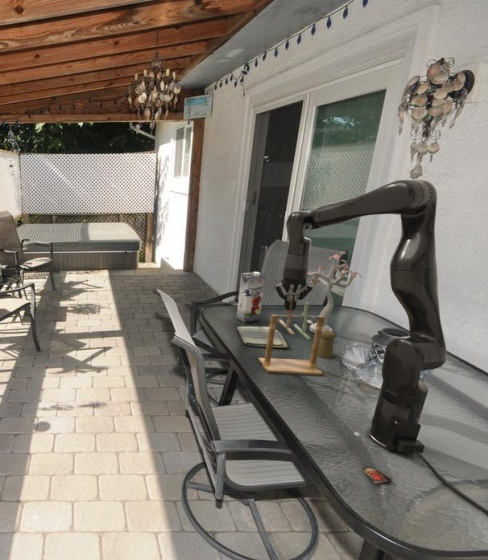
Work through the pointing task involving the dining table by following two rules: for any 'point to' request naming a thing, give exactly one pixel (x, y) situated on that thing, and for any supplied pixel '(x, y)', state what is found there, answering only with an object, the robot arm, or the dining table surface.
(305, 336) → the hanger
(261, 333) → the pale green square plate
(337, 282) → the decorative tree
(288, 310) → the hanger
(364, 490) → the dining table surface
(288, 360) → the rack
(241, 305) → the juice carton
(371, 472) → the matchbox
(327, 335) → the cork
